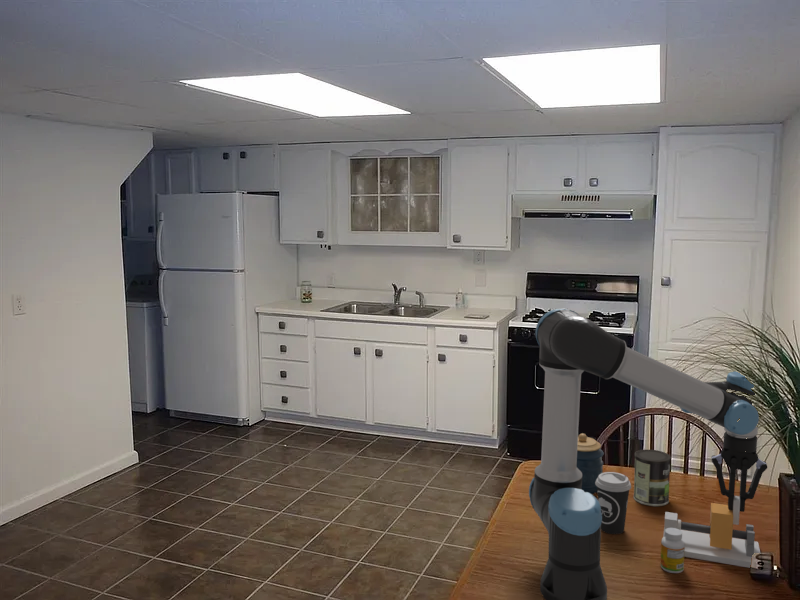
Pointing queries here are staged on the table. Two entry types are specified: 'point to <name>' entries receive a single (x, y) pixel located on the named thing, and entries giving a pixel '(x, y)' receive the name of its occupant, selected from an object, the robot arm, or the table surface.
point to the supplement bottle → (672, 551)
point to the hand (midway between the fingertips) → (735, 522)
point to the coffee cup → (613, 501)
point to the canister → (589, 462)
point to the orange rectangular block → (721, 526)
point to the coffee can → (652, 477)
